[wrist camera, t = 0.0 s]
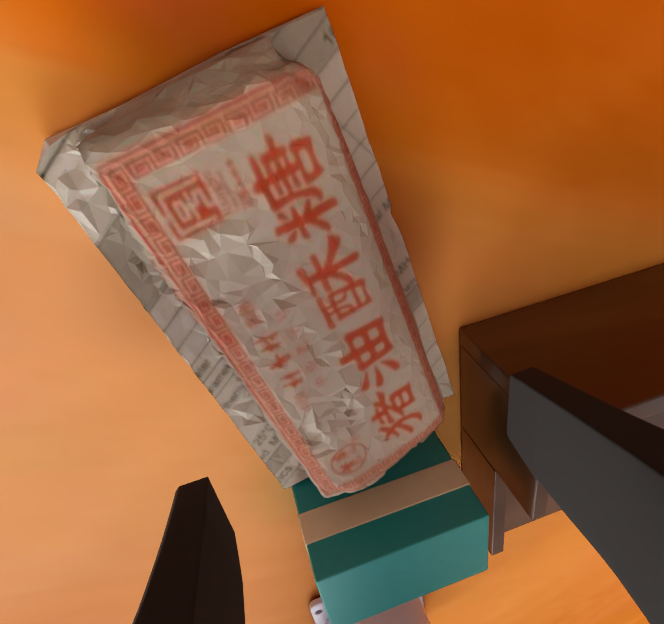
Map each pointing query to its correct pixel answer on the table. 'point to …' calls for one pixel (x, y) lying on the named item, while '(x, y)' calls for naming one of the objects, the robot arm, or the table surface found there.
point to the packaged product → (267, 252)
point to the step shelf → (565, 364)
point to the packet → (394, 535)
